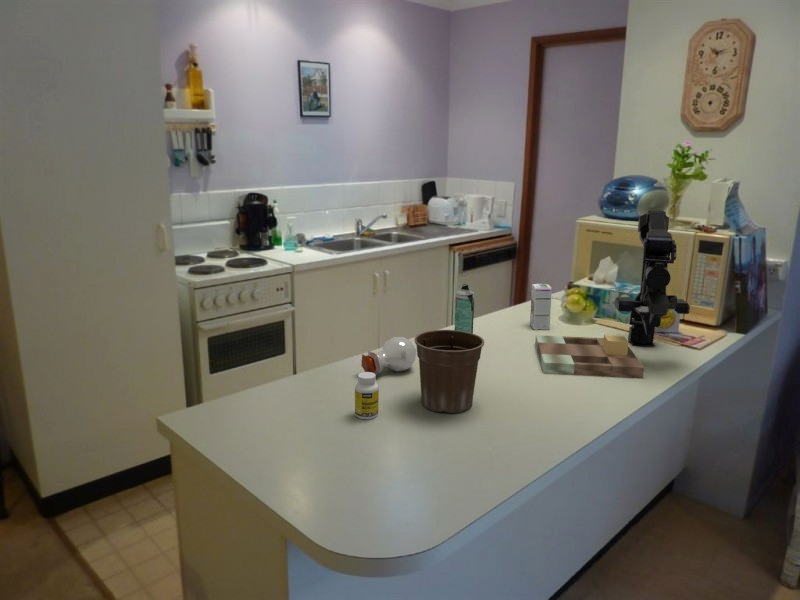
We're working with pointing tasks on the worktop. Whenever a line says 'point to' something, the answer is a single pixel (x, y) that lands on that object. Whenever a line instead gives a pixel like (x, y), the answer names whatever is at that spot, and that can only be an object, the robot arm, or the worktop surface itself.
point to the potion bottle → (391, 356)
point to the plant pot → (448, 368)
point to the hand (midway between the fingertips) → (647, 334)
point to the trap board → (584, 357)
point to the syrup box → (540, 306)
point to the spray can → (464, 309)
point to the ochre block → (615, 345)
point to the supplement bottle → (366, 396)
